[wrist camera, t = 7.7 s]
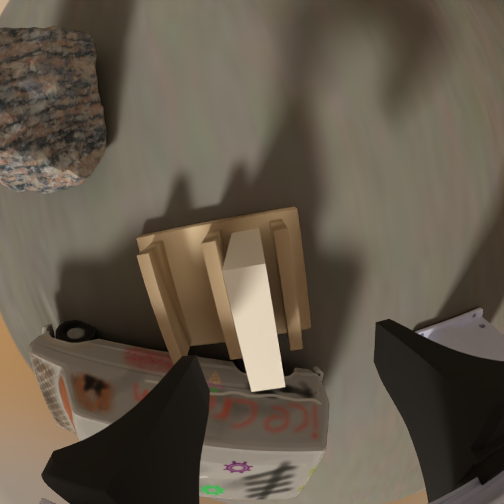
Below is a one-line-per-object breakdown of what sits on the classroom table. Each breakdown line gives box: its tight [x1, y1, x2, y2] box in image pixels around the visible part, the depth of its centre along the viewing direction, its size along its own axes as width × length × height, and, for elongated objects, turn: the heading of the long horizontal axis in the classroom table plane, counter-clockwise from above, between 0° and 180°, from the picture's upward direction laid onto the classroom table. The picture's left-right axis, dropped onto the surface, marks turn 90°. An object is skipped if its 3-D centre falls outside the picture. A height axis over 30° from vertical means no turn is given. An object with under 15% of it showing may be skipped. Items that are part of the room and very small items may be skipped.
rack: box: [136, 207, 311, 365], centre depth 19 cm, size 11×9×4 cm
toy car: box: [29, 320, 329, 499], centre depth 19 cm, size 11×25×10 cm, turn 83°
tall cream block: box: [222, 228, 285, 392], centre depth 16 cm, size 2×7×7 cm, turn 10°
